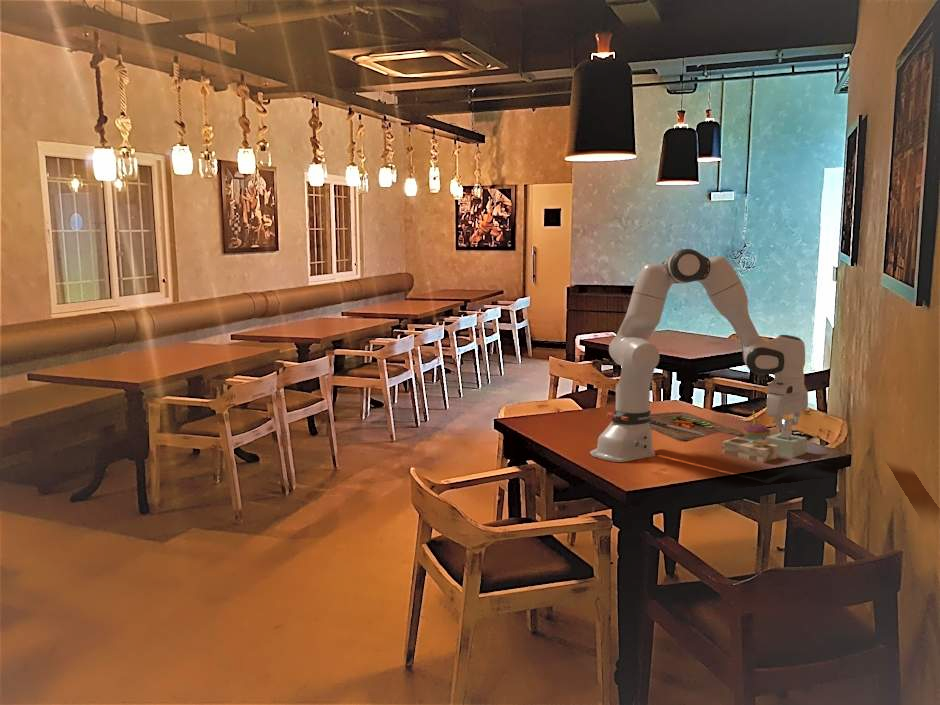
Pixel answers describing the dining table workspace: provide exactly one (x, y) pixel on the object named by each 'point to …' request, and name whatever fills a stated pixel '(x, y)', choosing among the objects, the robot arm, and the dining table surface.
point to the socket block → (749, 450)
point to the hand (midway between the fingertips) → (787, 426)
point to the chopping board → (686, 426)
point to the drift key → (760, 443)
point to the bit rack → (789, 445)
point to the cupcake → (756, 430)
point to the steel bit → (786, 429)
